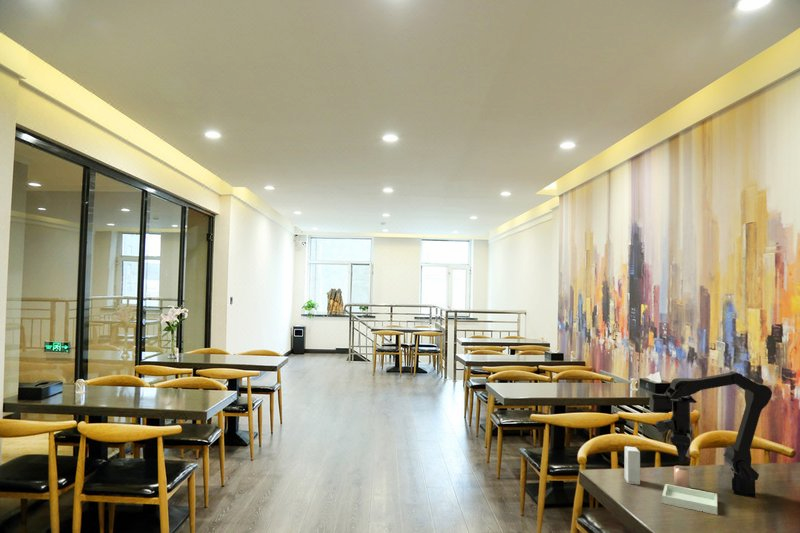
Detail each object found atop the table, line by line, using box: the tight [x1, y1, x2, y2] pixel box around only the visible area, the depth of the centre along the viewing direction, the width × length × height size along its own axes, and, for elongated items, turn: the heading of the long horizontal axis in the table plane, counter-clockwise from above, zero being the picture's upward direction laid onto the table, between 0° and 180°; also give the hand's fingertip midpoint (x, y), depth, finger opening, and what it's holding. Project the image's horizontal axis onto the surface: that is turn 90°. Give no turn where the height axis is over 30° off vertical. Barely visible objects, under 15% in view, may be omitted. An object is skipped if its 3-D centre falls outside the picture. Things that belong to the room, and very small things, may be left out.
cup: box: [673, 465, 691, 489], centre depth 182 cm, size 5×5×7 cm
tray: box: [661, 483, 718, 515], centre depth 169 cm, size 16×13×2 cm
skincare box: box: [623, 445, 641, 486], centre depth 187 cm, size 6×4×12 cm
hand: (681, 457), depth 182 cm, fingers open, 9 cm apart
